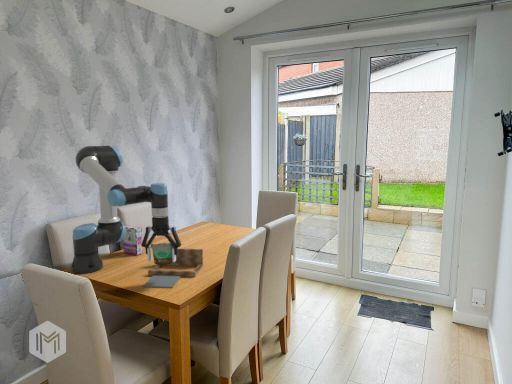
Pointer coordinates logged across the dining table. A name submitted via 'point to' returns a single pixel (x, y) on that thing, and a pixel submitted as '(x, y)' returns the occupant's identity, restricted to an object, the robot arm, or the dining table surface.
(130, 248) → the candy bar box
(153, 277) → the mat
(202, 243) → the dining table surface
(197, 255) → the wooden frame
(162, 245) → the food container
